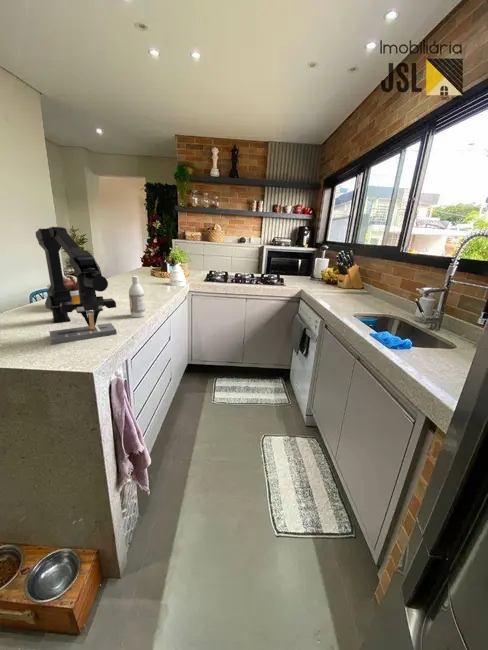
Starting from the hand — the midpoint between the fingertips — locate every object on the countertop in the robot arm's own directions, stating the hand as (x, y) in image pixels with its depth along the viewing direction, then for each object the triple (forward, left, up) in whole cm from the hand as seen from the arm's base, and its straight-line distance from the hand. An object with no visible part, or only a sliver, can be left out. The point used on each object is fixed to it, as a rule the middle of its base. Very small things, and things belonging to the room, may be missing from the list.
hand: (91, 325), depth 107 cm
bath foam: (-17, +23, -4) cm, 29 cm away
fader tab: (0, 0, -1) cm, 1 cm away
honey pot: (-90, +76, -4) cm, 118 cm away
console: (0, -3, -4) cm, 5 cm away
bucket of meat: (-47, -2, -4) cm, 47 cm away
